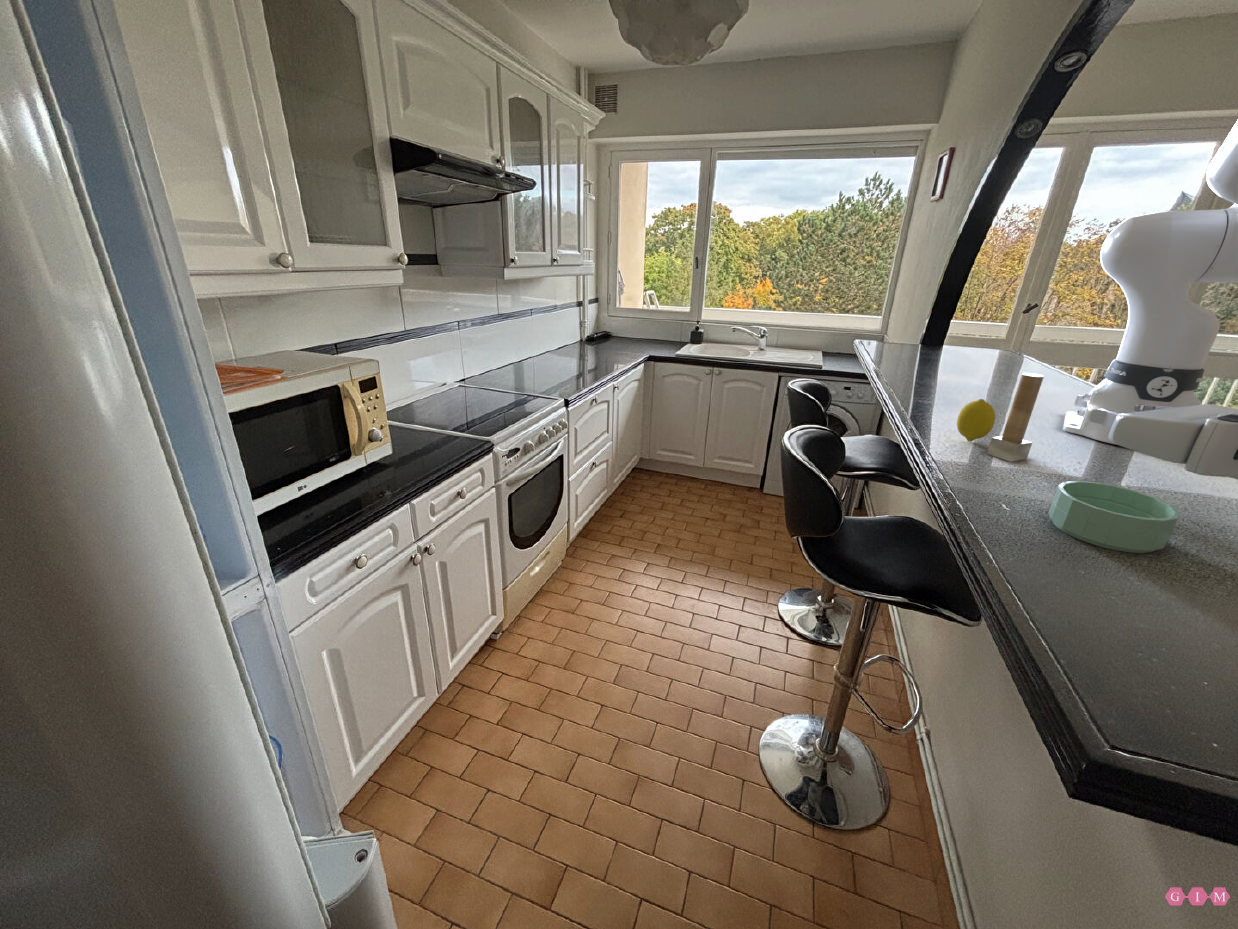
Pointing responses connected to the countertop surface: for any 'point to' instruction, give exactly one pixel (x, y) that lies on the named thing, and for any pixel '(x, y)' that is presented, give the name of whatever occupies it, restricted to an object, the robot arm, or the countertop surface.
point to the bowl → (1113, 516)
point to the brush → (1018, 421)
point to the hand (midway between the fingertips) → (1115, 411)
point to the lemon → (976, 420)
